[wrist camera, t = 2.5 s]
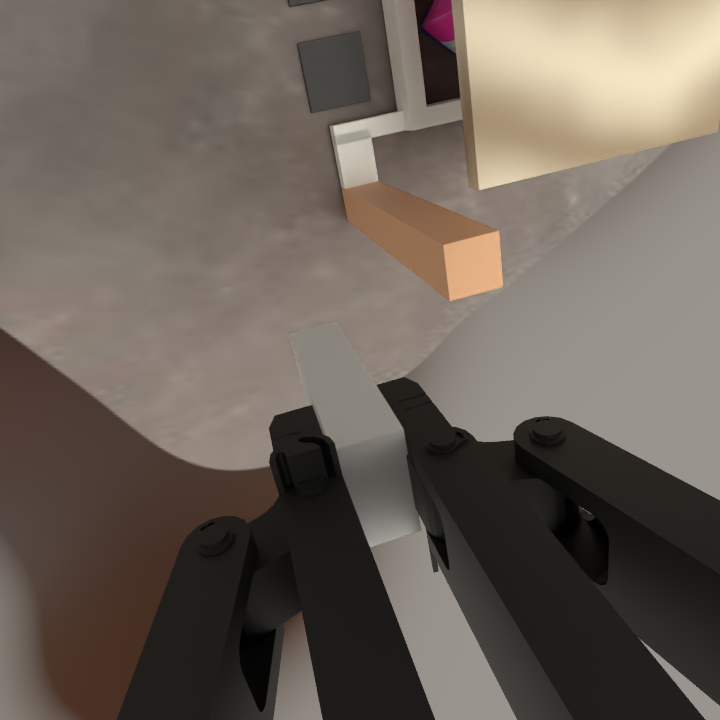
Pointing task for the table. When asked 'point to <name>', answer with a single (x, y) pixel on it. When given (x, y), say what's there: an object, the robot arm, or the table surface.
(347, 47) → the plate
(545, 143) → the small wooden stool
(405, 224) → the sled
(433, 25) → the supplement box
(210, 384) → the table surface
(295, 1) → the plate
